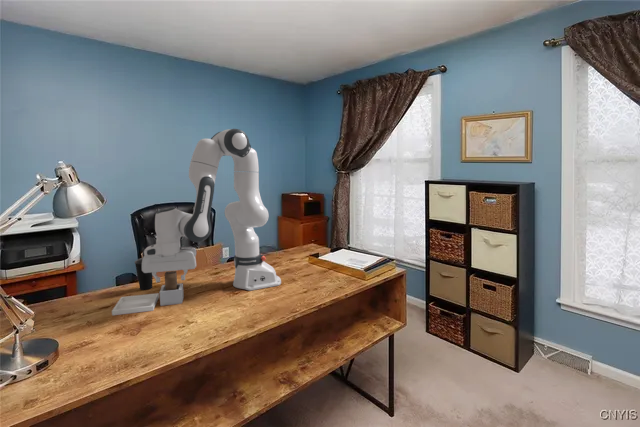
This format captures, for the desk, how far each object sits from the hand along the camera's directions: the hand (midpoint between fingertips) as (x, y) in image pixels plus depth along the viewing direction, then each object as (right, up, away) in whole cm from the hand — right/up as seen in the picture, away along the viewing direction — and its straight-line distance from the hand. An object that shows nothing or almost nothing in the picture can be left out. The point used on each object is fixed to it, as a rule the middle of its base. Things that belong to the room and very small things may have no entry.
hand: (170, 280), depth 140 cm
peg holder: (0, -9, +1) cm, 9 cm away
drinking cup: (-18, -7, +16) cm, 25 cm away
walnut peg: (0, -8, +1) cm, 9 cm away
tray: (-12, -10, -3) cm, 16 cm away
